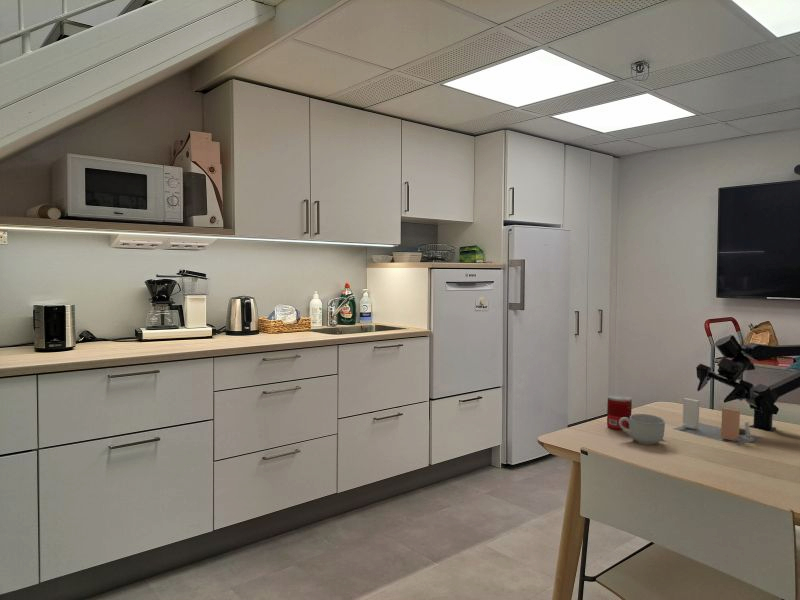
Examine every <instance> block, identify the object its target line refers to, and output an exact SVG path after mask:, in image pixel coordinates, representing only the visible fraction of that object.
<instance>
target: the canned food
mask: <svg viewBox="0 0 800 600" xmlns="http://www.w3.org/2000/svg"><path fill="white" fill-rule="evenodd" d="M632 402H633V401H632V397H631V396H628V395H626V396H625V395H622V394H621V395H620V394H610V395H608V396H607V404H606V405H607V410H606V414H607V415H606V425H607V428H609V429H611V430H614V431H623V429H622V428H621V427H620V426H619V420H620V419H621V418H622V417H627V418H629V419H630V416H631V415H632V409H633V408H632V407H633V406H632ZM622 425H623V427H625V428H626V429H628V430H630V429H629V428H630V426H629V424H628V422H627V421H626V420H624V421H622Z"/></svg>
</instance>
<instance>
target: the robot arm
mask: <svg viewBox="0 0 800 600" xmlns="http://www.w3.org/2000/svg"><path fill="white" fill-rule="evenodd" d="M714 346H715V347H716V349H717V351H719V352H720V354H721V355H722V356H721V357H720V359H719V361H718V362H717V364H716V365H717V366H718V368H717V372H714V371H712V367H711V366H709V365H706V364H704V363H699V364H698V365H697V366H696V368H695V369H696V378H697V379H698V380H699V383H698V385H697V392H700V391H701V390H702V389H704V387H706V385H707V384H709V383H708V382H710V380H711V379H713V380H716V381H717V382H720V383H722V384H723V385H725V386H728V387H731V388H733V389H732V391H730V393H728V395H726V397H725V398H724V399H723V403H724V404H725V403H728V402H732V401H735V400H740V399H743V400H745V401H746V402H747V404H748V406H749V409H751V410H753V420H752V421H753V424H751V425H750V424H749V428H752V429H757V430H762V431H766V432H771V431H774V430H777V427H776V426H773V416H774V415H778V412H779V410H780V409H779V407H778V406H777V405H776V404H775V403H776V402H777V401H778V399H779V398H781V397H782V396H784V395H787V394H789V393H791V392H793V391H795V390H797V389H800V371H798V372H796V373H794V374H792V375H790V376H787V377H786V378H784V379H781V380H779V381H777V382H776V383H774V384H771V385H769V386H768V385H765V384H761V383H759V384H756V385H755V386H754V384H753V383H751V382H749V381H747V380H744V379H741V378H742V375H743V374H744V373H745V372H746V371H754V370H756V366H755V363H754V362H752V361H751V360H754V361H758V362H762V361H767V360H771V359H773V358H777V357H778V358H780V357H800V344H784V345H783V344H779V345H772V344H771V345H770V344H763V343H755V342H748V343H746V345H741V344H740V343H739V342H738V340H737V338H736V337H735V335H733V334H729V335H727V336H724V337H722V338H719V339H718V340H717V341H715V342H714ZM750 359H751V360H750ZM739 380H740V381H739ZM737 381H739V382H737Z"/></svg>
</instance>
